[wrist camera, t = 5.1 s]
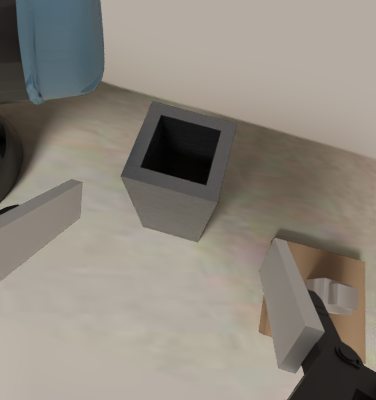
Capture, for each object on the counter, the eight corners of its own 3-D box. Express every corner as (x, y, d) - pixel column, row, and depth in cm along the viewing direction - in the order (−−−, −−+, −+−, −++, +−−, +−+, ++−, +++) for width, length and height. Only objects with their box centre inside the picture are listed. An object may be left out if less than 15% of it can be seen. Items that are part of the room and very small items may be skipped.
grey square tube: (143, 226, 26) (120, 176, 14) (160, 178, 28) (152, 101, 17) (197, 242, 25) (217, 203, 14) (210, 191, 28) (236, 123, 16)
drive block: (257, 331, 23) (285, 344, 17) (269, 241, 26) (296, 227, 21) (349, 358, 23) (409, 380, 17) (350, 264, 26) (401, 255, 20)
